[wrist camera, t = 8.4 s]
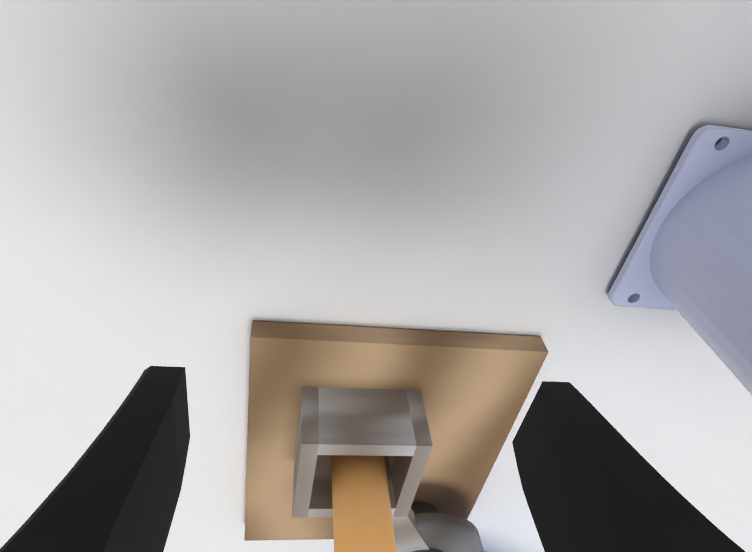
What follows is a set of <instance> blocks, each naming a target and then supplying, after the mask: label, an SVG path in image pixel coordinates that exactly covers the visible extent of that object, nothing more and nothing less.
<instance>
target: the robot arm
mask: <svg viewBox="0 0 752 552" xmlns="http://www.w3.org/2000/svg"><path fill="white" fill-rule="evenodd" d="M721 137H722V140H721V141H720V143H719V144H717V145H716V146H715V143H716V141H717V140H718V139H720V138H721ZM632 294H634V295H632ZM630 295H632V296H631V297H630ZM608 297H609V299H610V301H611V302H612V303H613V304H614V305H617V306H628V307H642V308H657V309H672V310H678V312H679V313H680V314H681V315H682V316H683V317H684V318H685V320H686V321H687V322H688V323H689V324H690V325H691V326H692V328H693V329H694V330H695V331H696V332H697V333H698V334H699V335H700V337H701V338H702V339H703V340H704V341H705V342H706V343H707V345H708V346H709V347H710V348H711V349H712V350H713V351H714V353H715V354H716V355H717V356H718V357H719V358H720V359H721V360H722V362H723V363H724V364H725V365H726V366H727V367H728V368H729V370H730V371H731V372H732V373H733V374H734V375H735V376H736V378H737V379H738V380H739V381H740V382H741V383H742V384H743V385H744V387H745V388H746V389H747V390H748V391H749V392H750V393H751V395H752V130H745V129H738V128H731V127H724V126H717V125H705V126H702V127H700V128H699V129H698V130H696V131H695V132H694V134H693V135H692V136H691V138H690V140H689V142H688V144H687V146H686V148H685V150H684V152H683V153H682V155H681V157H680V159H679V161H678V163H677V165H676V167H675V169H674V170H673V172H672V174H671V176H670V178H669V180H668V182H667V184H666V185H665V187H664V189H663V191H662V193H661V195H660V197H659V199H658V201H657V202H656V204H655V206H654V208H653V210H652V212H651V214H650V216H649V218H648V219H647V221H646V223H645V225H644V227H643V229H642V231H641V233H640V235H639V236H638V238H637V240H636V242H635V244H634V246H633V248H632V250H631V251H630V253H629V255H628V257H627V259H626V261H625V263H624V265H623V267H622V268H621V270H620V272H619V274H618V276H617V278H616V280H615V282H614V284H613V285H612V287H611V289H610V291H609V294H608ZM189 440H190V430H189V416H188V402H187V388H186V374H185V367H162V366H150V367H149V368H147V369H146V370H145V371H144V372H143V374H142V375H141V377H140V378H139V380H138V381H137V383H136V384H135V386H134V387H133V389H132V390H131V392H130V393H129V395H128V396H127V397H126V399H125V400H124V402H123V403H122V404H121V406H120V407H119V409H118V410H117V411H116V413H115V414H114V415H113V417H112V418H111V419H110V421H109V422H108V423H107V425H106V426H105V427H104V429H103V430H102V431H101V433H100V434H99V435H98V437H97V438H96V439H95V440H94V442H93V443H92V444H91V445H90V447H89V448H88V449H87V450H86V452H85V453H84V454H83V455H82V457H81V458H80V459H79V460H78V462H77V463H76V464H75V465H74V467H73V468H72V469H71V470H70V471H69V473H68V474H67V475H66V476H65V477H64V479H63V480H62V481H61V482H60V483H59V484H58V485H57V487H56V488H55V489H54V490H53V491H52V492H51V493H50V495H49V496H48V497H47V498H46V499H45V500H44V501H43V503H42V504H41V505H40V506H39V507H38V508H37V509H36V511H35V512H34V513H33V514H32V515H31V516H30V517H29V519H28V520H27V521H26V522H25V523H24V524H23V525H22V526H21V527H20V528H19V530H18V531H17V532H16V533H15V534H14V535H13V536H12V537H11V538H10V539H9V540H8V541H7V542H6V543H5V545H4V546H3V547H2V548H1V549H0V552H163V550H164V547H165V544H166V540H167V537H168V533H169V530H170V526H171V522H172V519H173V515H174V512H175V508H176V505H177V501H178V498H179V494H180V490H181V485H182V480H183V474H184V469H185V463H186V457H187V451H188V445H189ZM512 443H513V447H514V452H515V457H516V462H517V467H518V471H519V475H520V479H521V483H522V488H523V491H524V494H525V497H526V500H527V503H528V506H529V509H530V511H531V514H532V517H533V520H534V523H535V526H536V528H537V531H538V534H539V537H540V539H541V542H542V545H543V548H544V550H545V552H745V551H744V550H743V549H741V548H740V547H739V546H738V545H737V544H735V543H734V542H733V541H732V540H731V539H729V538H728V537H727V536H726V535H725V534H724V533H723V532H721V531H720V530H719V529H718V528H717V527H716V526H715V525H713V524H712V523H711V522H710V521H709V520H708V519H707V518H706V517H705V516H704V515H703V514H701V513H700V512H699V511H698V510H697V509H696V508H695V507H694V506H693V505H692V504H691V503H690V502H688V501H687V500H686V499H685V498H684V497H683V496H682V495H681V494H680V493H679V492H678V491H677V490H676V489H675V488H674V487H673V486H672V485H670V484H669V483H668V482H667V481H666V480H665V479H664V478H663V477H662V476H661V475H660V474H659V473H658V472H657V471H656V470H655V469H654V468H653V467H652V466H651V465H650V464H649V463H648V462H647V461H646V460H645V459H644V458H643V457H642V456H641V455H640V454H639V453H638V452H637V451H636V450H635V449H634V448H633V447H632V446H631V445H630V444H629V443H628V442H627V441H626V440H625V439H624V438H623V436H622V435H621V434H620V433H619V432H618V431H617V430H616V429H615V428H614V427H613V426H612V425H611V424H610V423H609V422H608V421H607V420H606V419H605V418H604V417H603V416H602V415H601V414H600V413H599V412H598V411H597V410H596V409H595V408H594V406H593V405H592V404H591V403H590V402H589V401H588V400H587V399H586V398H585V397H584V396H583V395H582V394H581V393H580V392H579V391H578V390H577V389H576V388H575V387H574V386H573V385H572V384H570V383H569V382H545V381H543V382H542V384H541V386H540V388H539V390H538V392H537V394H536V396H535V398H534V400H533V402H532V404H531V406H530V408H529V410H528V412H527V414H526V416H525V418H524V420H523V422H522V424H521V426H520V428H519V430H518V432H517V434H516V436H515V438H514V440H513V442H512Z"/></svg>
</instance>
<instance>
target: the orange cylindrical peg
mask: <svg viewBox="0 0 752 552" xmlns="http://www.w3.org/2000/svg"><path fill="white" fill-rule="evenodd" d="M331 476H332V503H333V531H334V552H397V550H396V543H395V535H394V527H393V520H392V512H391V505H390V497H389V489H388V482H387V474H386V466H385V459H384V456H361V455H331Z"/></svg>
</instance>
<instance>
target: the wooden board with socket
mask: <svg viewBox="0 0 752 552" xmlns="http://www.w3.org/2000/svg"><path fill="white" fill-rule="evenodd" d="M547 354H548V350H547V348H546V346H545V344H544V342H543V340H542V339H541V337H538V336H520V335H502V334H484V333H466V332H448V331H430V330H411V329H393V328H375V327H357V326H339V325H321V324H303V323H285V322H267V321H253V324H252V331H251V342H250V375H249V409H248V442H247V475H246V509H245V540H304V539H334V531H333V503H332V476H331V455H361V456H384V459H385V466H386V474H387V482H388V489H389V497H390V505H391V512H392V520H393V527H394V535H395V543H396V550H397V552H483V548H482V544H481V540H480V536H479V533H478V530H477V528H476V527H475V526H474V525H473V524H472V523H471V522H469V521H468V520H467V518H468V516H469V514H470V512H471V510H472V508H473V506H474V504H475V502H476V500H477V498H478V496H479V494H480V492H481V490H482V488H483V485H484V483H485V481H486V479H487V477H488V475H489V473H490V471H491V469H492V467H493V465H494V463H495V461H496V459H497V457H498V455H499V453H500V451H501V448H502V446H503V444H504V442H505V440H506V438H507V436H508V434H509V432H510V430H511V428H512V426H513V424H514V422H515V420H516V418H517V416H518V413H519V411H520V409H521V407H522V405H523V403H524V401H525V399H526V397H527V395H528V393H529V391H530V389H531V387H532V385H533V383H534V381H535V379H536V376H537V374H538V372H539V370H540V368H541V366H542V364H543V362H544V360H545V358H546V356H547Z"/></svg>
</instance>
